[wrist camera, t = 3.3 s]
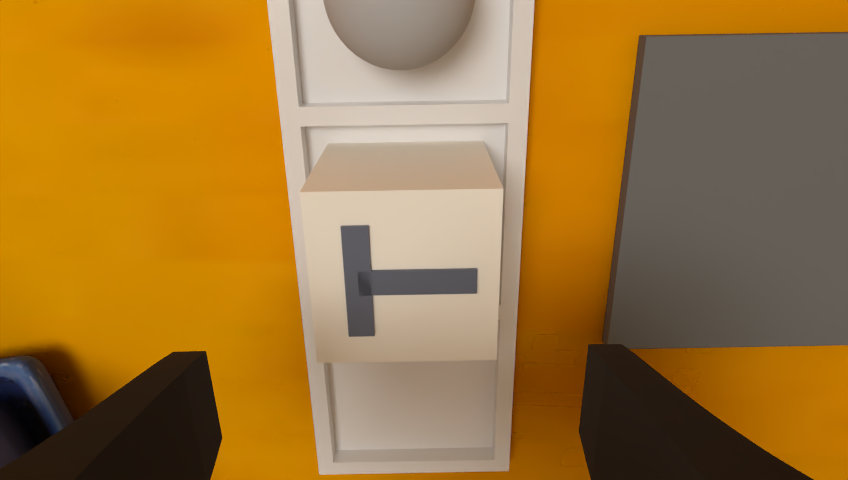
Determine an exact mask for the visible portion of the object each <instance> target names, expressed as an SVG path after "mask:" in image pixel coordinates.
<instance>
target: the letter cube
mask: <svg viewBox="0 0 848 480" xmlns="http://www.w3.org/2000/svg"><path fill="white" fill-rule="evenodd" d="M300 201H301V211H302V221H303V231H304V240H305V250H306V260H307V270H308V279H309V289H310V299H311V309H312V319H313V328H314V338H315V348H316V358H317V363H349V362H405V361H462V360H497V338H498V313H499V288H500V263H501V238H502V213H503V186H502V184H501V182H500V179H499V177H498V175H497V172H496V170H495V168H494V165H493V163H492V161H491V158H490V156H489V154H488V151H487V149H486V147H485V144H484V142H483V141H426V142H366V143H328V144H327V146H326V148H325V149H324V151H323V153H322V155H321V156H320V158H319V160H318V161H317V163H316V165H315V167H314V168H313V170H312V172H311V173H310V175H309V177H308V178H307V180H306V182H305V184H304V185H303V187H302V189H301V190H300Z"/></svg>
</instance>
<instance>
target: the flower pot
mask: <svg viewBox="0 0 848 480" xmlns="http://www.w3.org/2000/svg"><path fill="white" fill-rule="evenodd" d="M72 422H74V419H73V417H72V416H71V414H70V412H69V410H68V408H67V406H66V404H65V402H64V401H63V399H62V397H61V395H60V393H59V391H58V389H57V388H56V386H55V384H54V382H53V380H52V378H51V376H50V375H49V373H48V371H47V370H46V368H45V366H44V365H43V364H42V363H41V361H40V360H38V359H37V358H35V357H32V356H14V357H7V358H0V469H1V468H2V467H4V466H6V465H7V464H9V463H11V462H12V461H14V460H15V459H17V458H19V457H20V456H22V455H24V454H25V453H27V452H28V451H30V450H31V449H33V448H34V447H36V446H37V445H39V444H40V443H42V442H43V441H45V440H46V439H48V438H49V437H51V436H52V435H54V434H55V433H57V432H59V431H60V430H62V429H63V428H65V427H66V426H68V425H69V424H71V423H72Z"/></svg>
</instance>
